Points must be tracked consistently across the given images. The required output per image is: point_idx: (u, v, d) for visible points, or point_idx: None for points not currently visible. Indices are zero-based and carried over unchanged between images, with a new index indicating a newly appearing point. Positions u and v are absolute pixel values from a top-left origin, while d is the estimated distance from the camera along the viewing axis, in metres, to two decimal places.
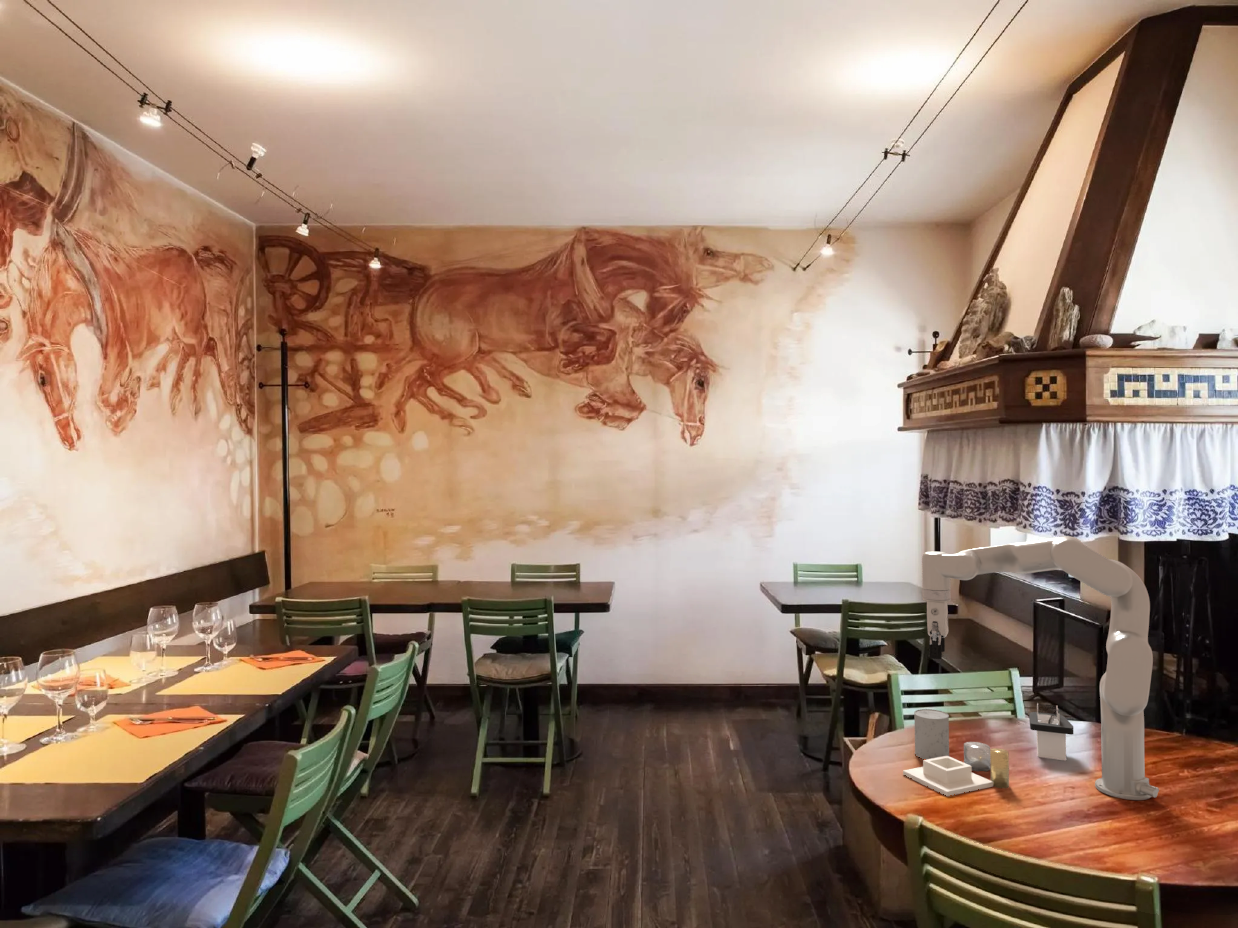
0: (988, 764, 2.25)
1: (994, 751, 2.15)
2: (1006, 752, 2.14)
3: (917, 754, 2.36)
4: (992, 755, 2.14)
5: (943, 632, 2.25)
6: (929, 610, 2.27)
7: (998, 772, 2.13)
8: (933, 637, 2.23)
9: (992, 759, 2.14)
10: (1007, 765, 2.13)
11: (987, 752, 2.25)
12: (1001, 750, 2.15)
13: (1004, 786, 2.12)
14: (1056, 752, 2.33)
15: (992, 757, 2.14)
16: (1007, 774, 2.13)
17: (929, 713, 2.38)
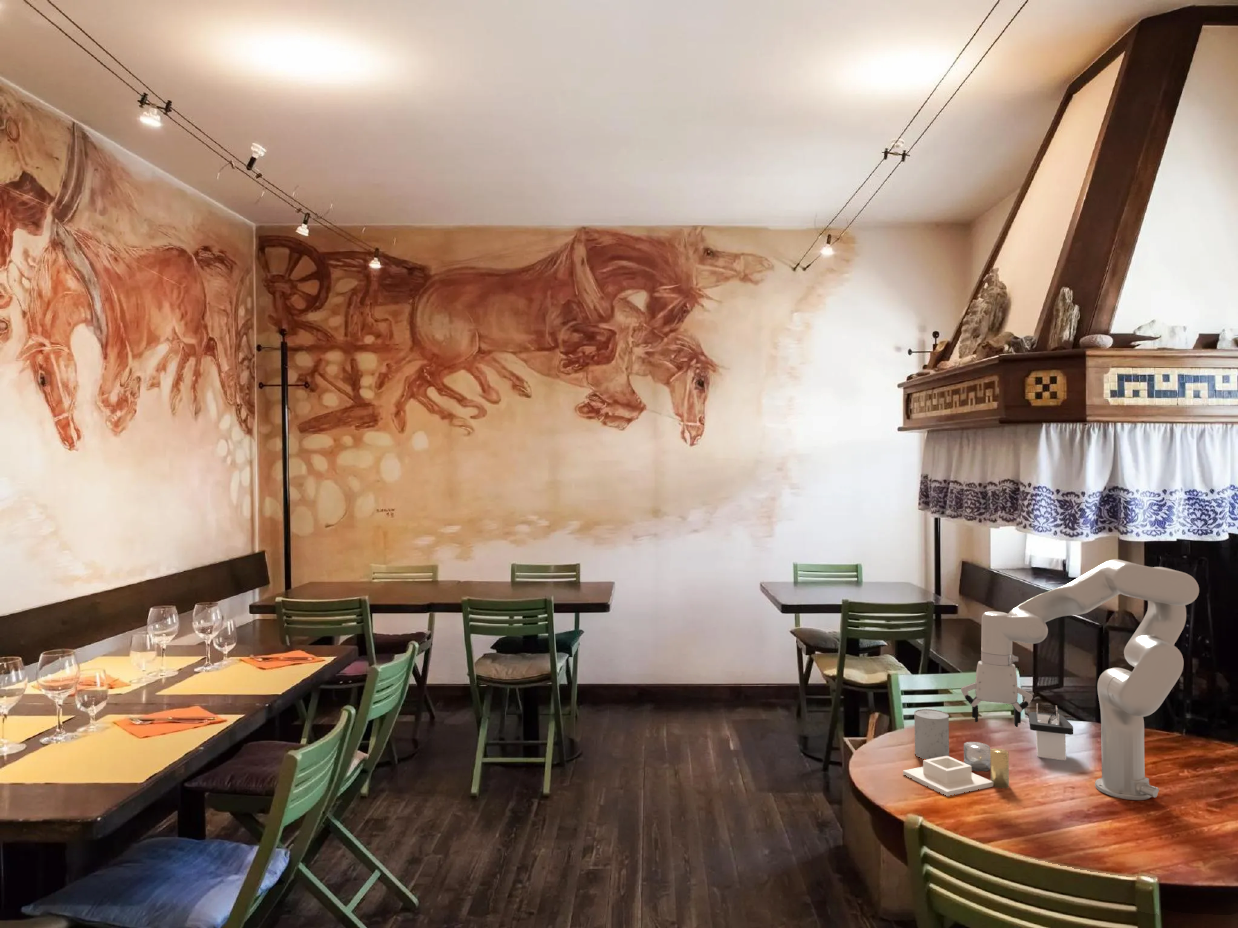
0: (988, 764, 2.25)
1: (994, 751, 2.15)
2: (1006, 752, 2.14)
3: (917, 754, 2.36)
4: (992, 755, 2.14)
5: None
6: (1015, 676, 2.12)
7: (998, 772, 2.13)
8: (1029, 702, 2.11)
9: (992, 759, 2.14)
10: (1007, 765, 2.13)
11: (987, 752, 2.25)
12: (1001, 750, 2.15)
13: (1004, 786, 2.12)
14: (1056, 752, 2.33)
15: (992, 757, 2.14)
16: (1007, 774, 2.13)
17: (929, 713, 2.38)
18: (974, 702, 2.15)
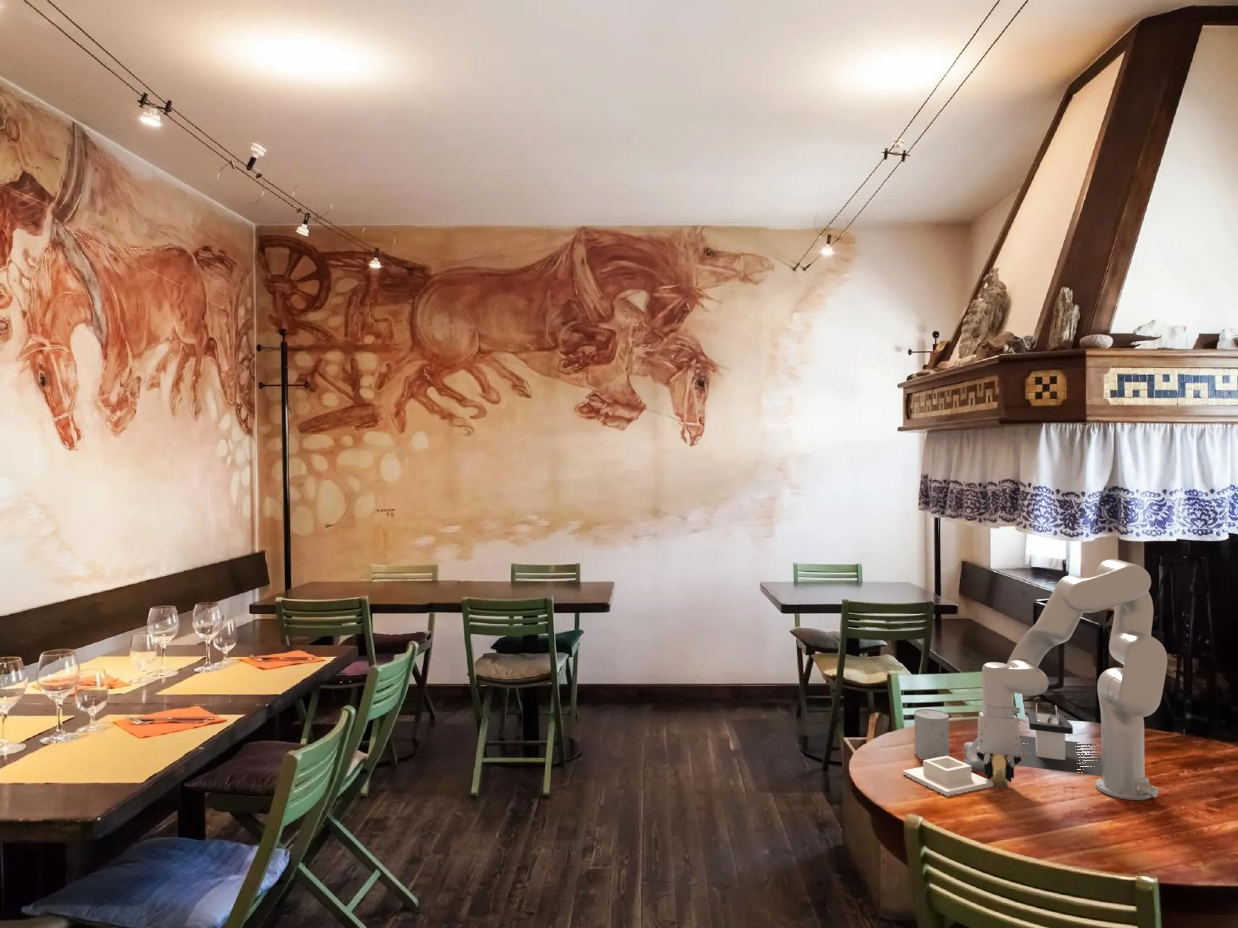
0: None
1: None
2: None
3: (917, 754, 2.36)
4: (991, 755, 2.14)
5: None
6: (1017, 728, 2.11)
7: (997, 772, 2.13)
8: None
9: (991, 759, 2.14)
10: (1007, 765, 2.13)
11: None
12: None
13: (1003, 786, 2.12)
14: (1055, 752, 2.33)
15: (991, 757, 2.14)
16: (1006, 774, 2.13)
17: (929, 713, 2.38)
18: (985, 759, 2.15)
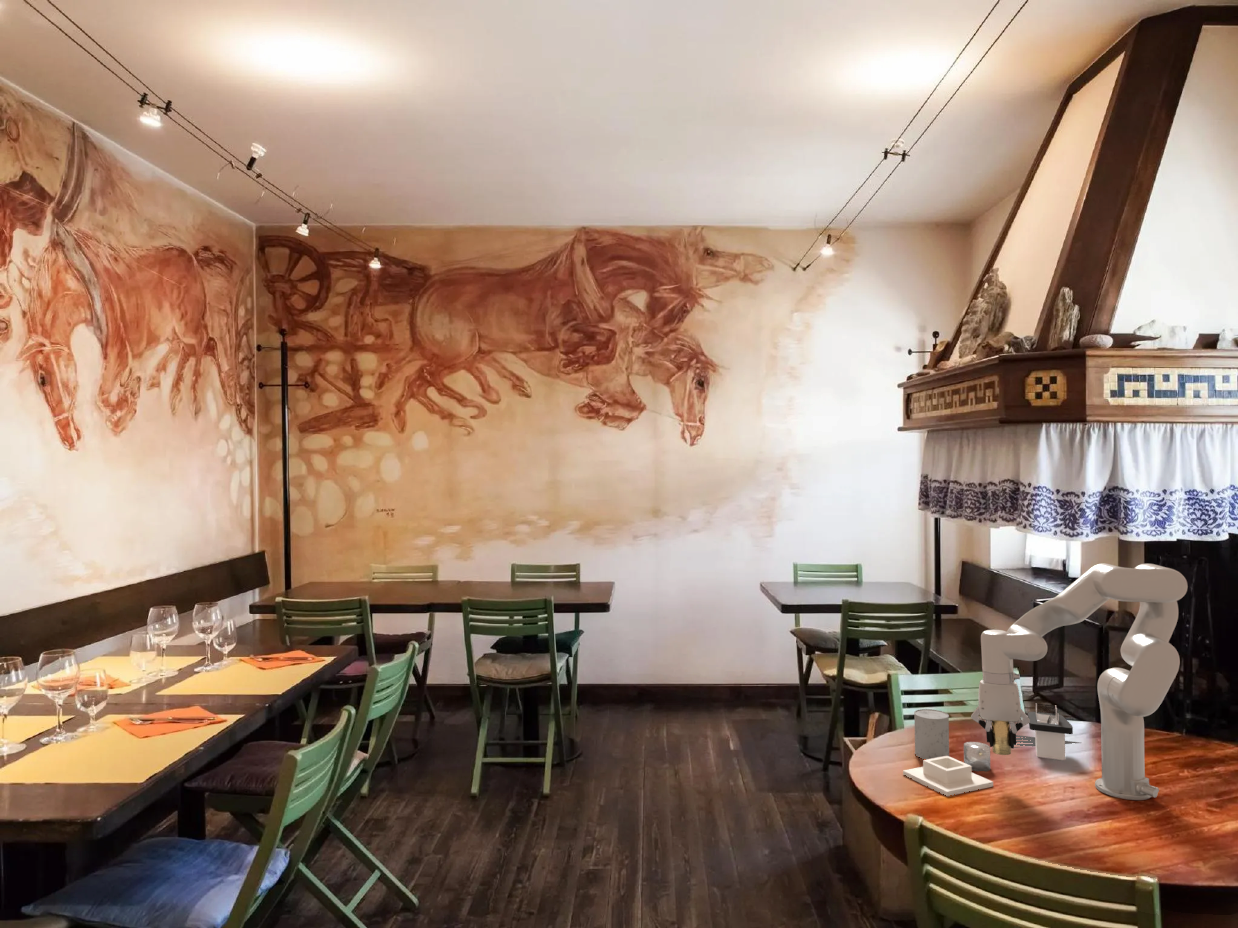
0: (988, 764, 2.25)
1: None
2: None
3: (917, 754, 2.36)
4: (993, 722, 2.14)
5: None
6: (1018, 694, 2.11)
7: (999, 739, 2.13)
8: None
9: (993, 726, 2.14)
10: (1009, 732, 2.13)
11: (987, 752, 2.25)
12: None
13: (1006, 753, 2.12)
14: (1055, 752, 2.33)
15: (993, 724, 2.14)
16: (1009, 741, 2.13)
17: (929, 713, 2.38)
18: (987, 726, 2.14)
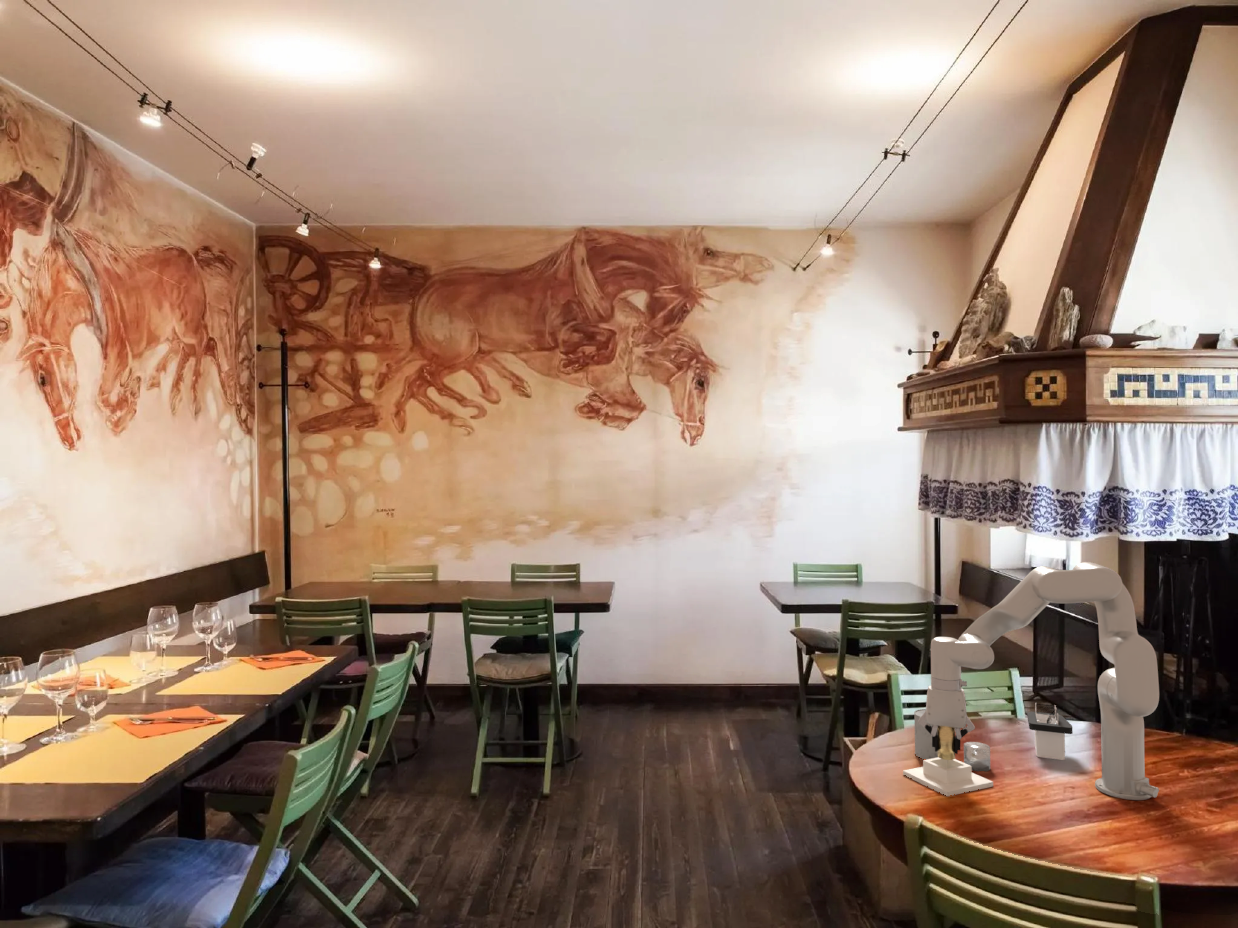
0: (988, 764, 2.25)
1: None
2: None
3: (917, 754, 2.36)
4: (939, 727, 2.18)
5: None
6: (964, 700, 2.15)
7: (944, 744, 2.17)
8: None
9: (939, 731, 2.18)
10: (953, 737, 2.17)
11: (987, 752, 2.25)
12: None
13: (950, 758, 2.16)
14: (1055, 752, 2.33)
15: (939, 729, 2.18)
16: (953, 746, 2.17)
17: None
18: (932, 731, 2.18)
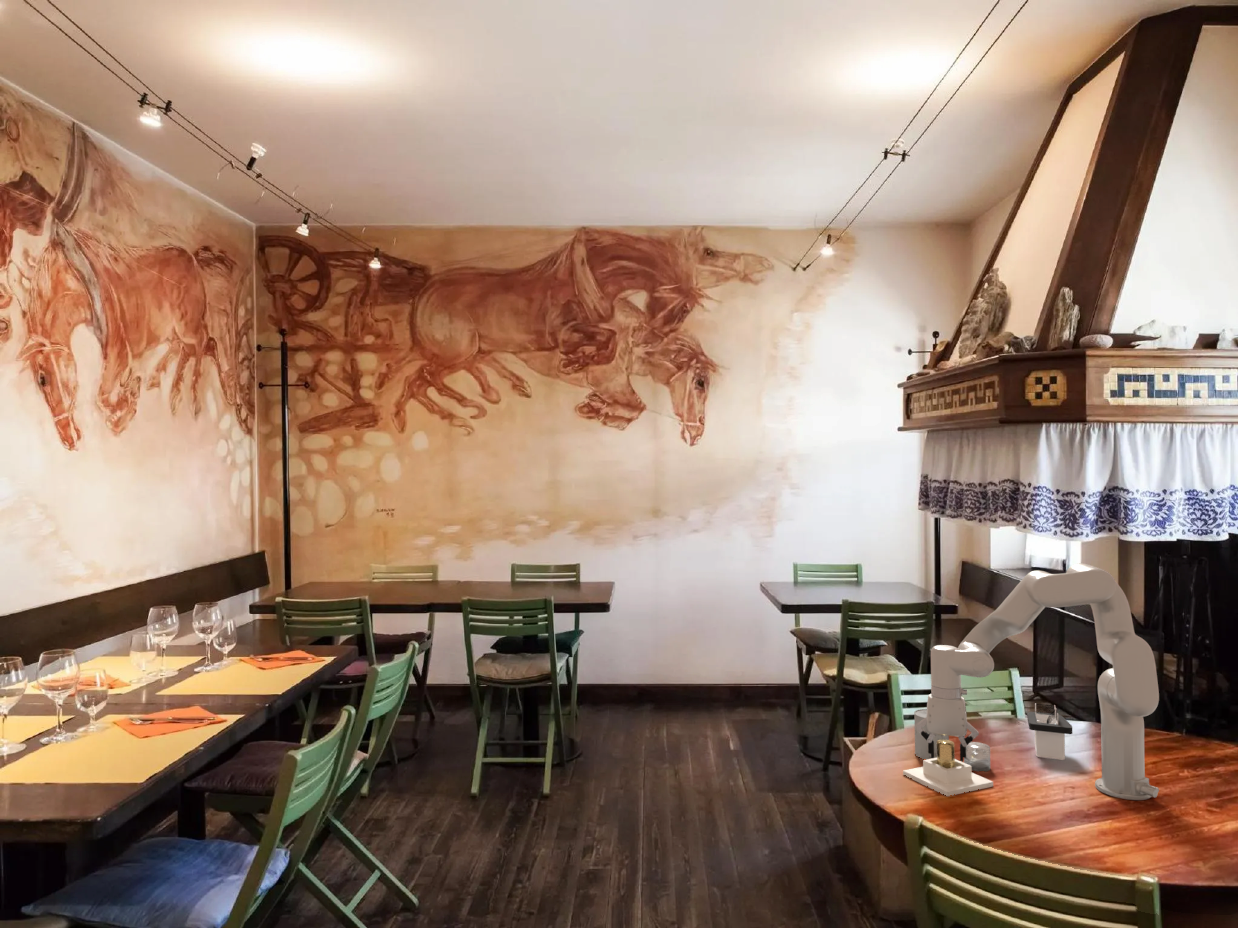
0: (988, 764, 2.25)
1: (940, 742, 2.18)
2: (952, 743, 2.17)
3: (917, 754, 2.36)
4: (938, 746, 2.18)
5: None
6: (964, 709, 2.15)
7: (943, 763, 2.17)
8: None
9: (938, 750, 2.18)
10: (953, 756, 2.17)
11: (987, 752, 2.25)
12: (947, 741, 2.19)
13: None
14: (1055, 752, 2.33)
15: (938, 748, 2.18)
16: (953, 765, 2.17)
17: None
18: (929, 738, 2.18)
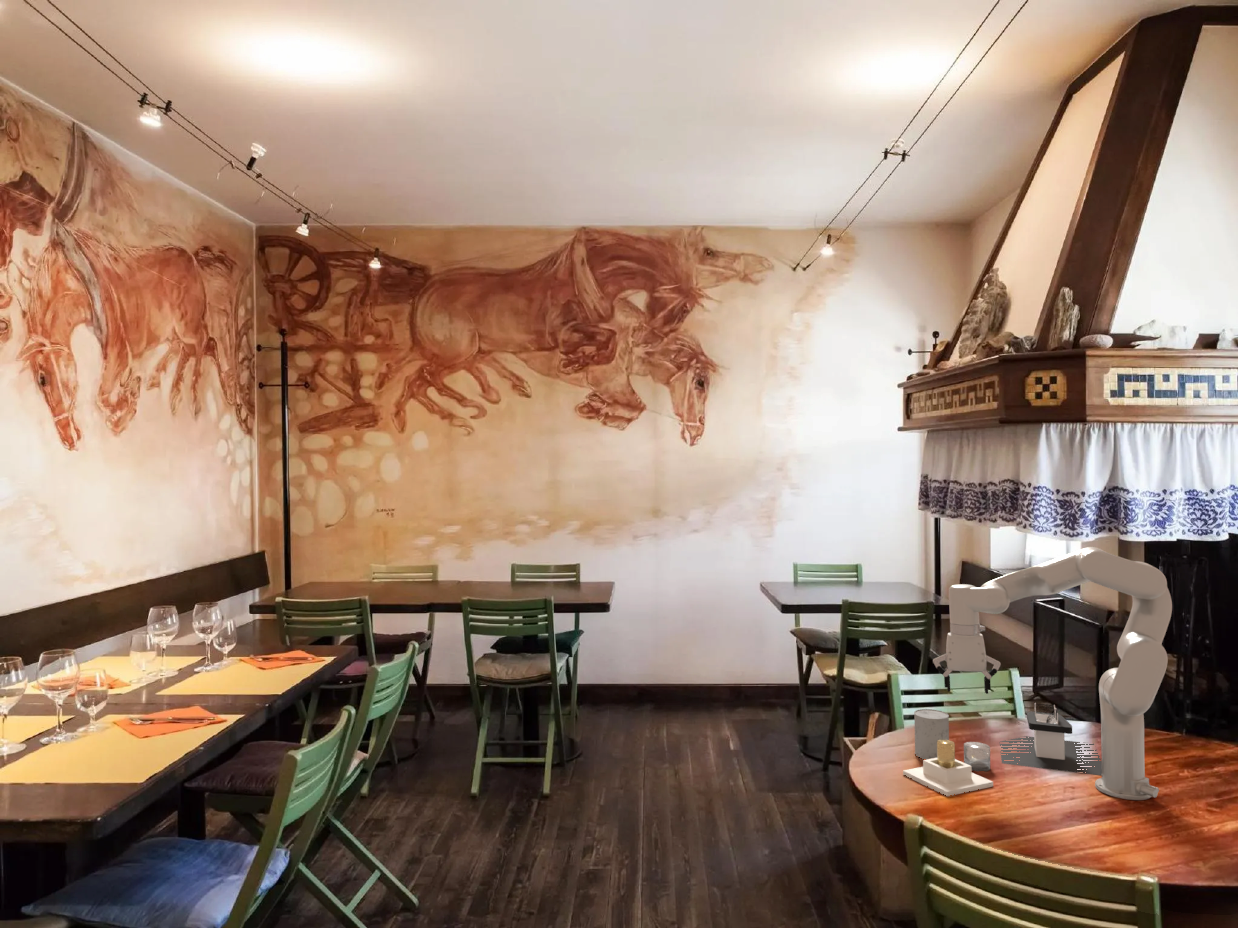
0: (988, 764, 2.25)
1: (941, 742, 2.18)
2: (952, 743, 2.17)
3: (917, 754, 2.36)
4: (938, 746, 2.18)
5: None
6: (983, 644, 2.21)
7: (944, 763, 2.17)
8: (997, 669, 2.21)
9: (938, 750, 2.18)
10: (953, 756, 2.17)
11: (987, 752, 2.25)
12: (947, 741, 2.19)
13: None
14: (1055, 751, 2.33)
15: (938, 748, 2.18)
16: (953, 765, 2.17)
17: (929, 713, 2.38)
18: (946, 672, 2.24)
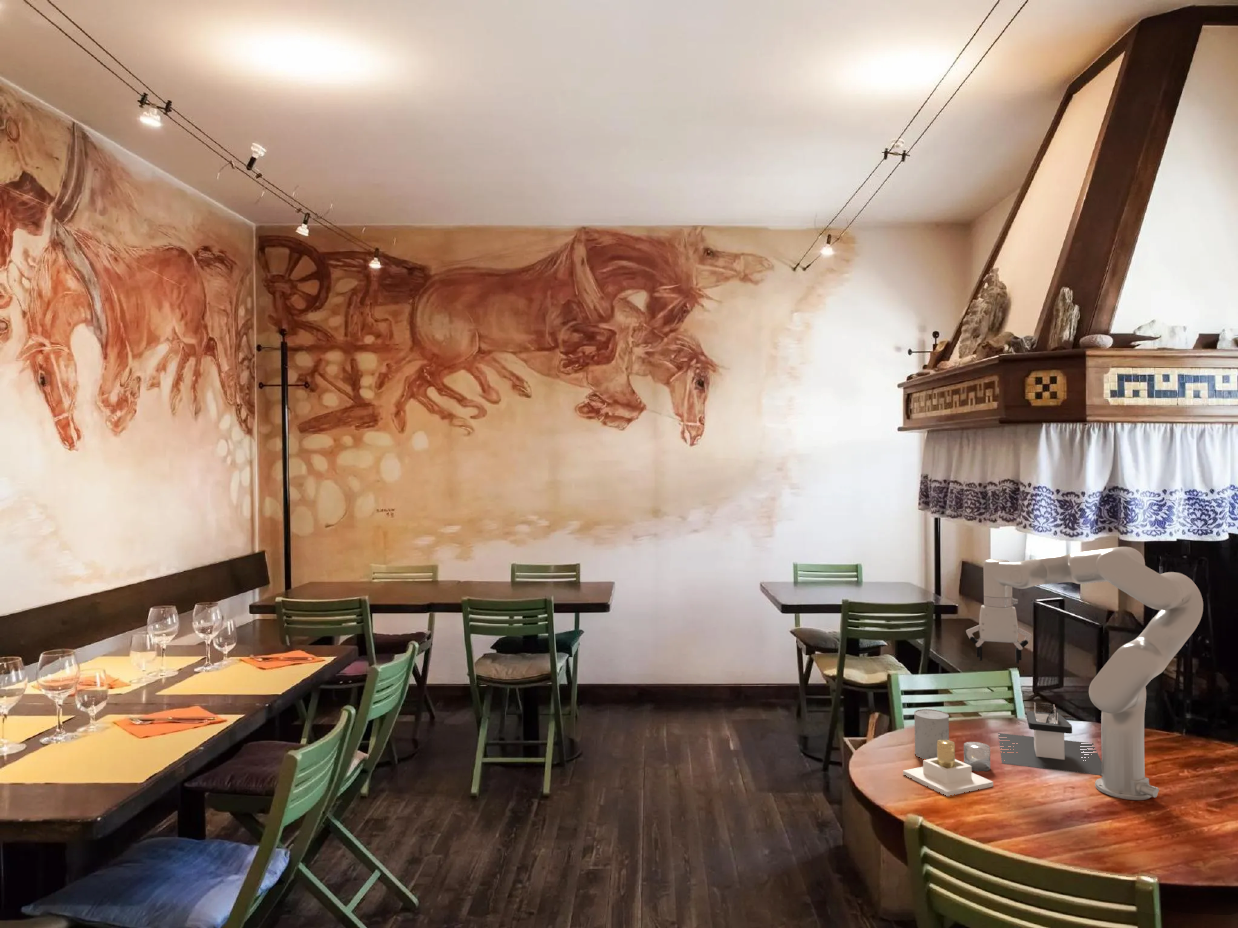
0: (988, 764, 2.25)
1: (941, 742, 2.18)
2: (952, 743, 2.17)
3: (917, 754, 2.36)
4: (939, 746, 2.18)
5: None
6: (1015, 616, 2.31)
7: (944, 763, 2.17)
8: (1029, 640, 2.30)
9: (939, 750, 2.18)
10: (953, 756, 2.17)
11: (987, 752, 2.25)
12: (948, 741, 2.19)
13: None
14: (1055, 751, 2.33)
15: (939, 748, 2.18)
16: (953, 765, 2.17)
17: (929, 713, 2.38)
18: (978, 642, 2.34)
